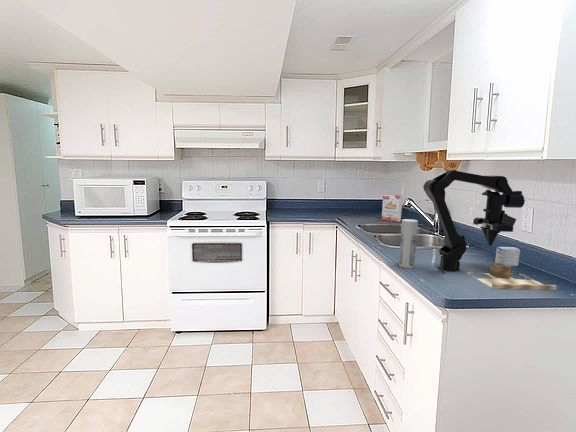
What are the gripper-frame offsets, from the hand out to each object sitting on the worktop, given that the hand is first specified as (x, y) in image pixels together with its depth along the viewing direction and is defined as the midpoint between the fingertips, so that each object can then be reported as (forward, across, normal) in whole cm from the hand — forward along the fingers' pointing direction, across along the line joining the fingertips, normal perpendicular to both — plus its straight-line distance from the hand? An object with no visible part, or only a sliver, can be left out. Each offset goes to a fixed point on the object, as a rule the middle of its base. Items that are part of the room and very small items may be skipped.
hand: (489, 245), depth 149 cm
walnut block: (+10, -8, 0) cm, 13 cm away
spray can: (+12, +7, +31) cm, 34 cm away
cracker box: (+12, +142, -2) cm, 143 cm away
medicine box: (+12, +10, -14) cm, 21 cm away
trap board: (+12, -14, 0) cm, 18 cm away
